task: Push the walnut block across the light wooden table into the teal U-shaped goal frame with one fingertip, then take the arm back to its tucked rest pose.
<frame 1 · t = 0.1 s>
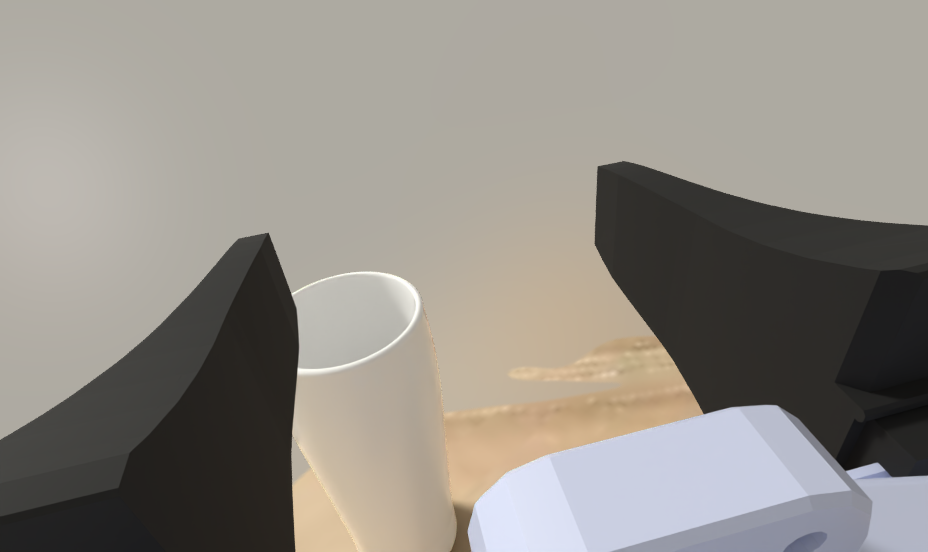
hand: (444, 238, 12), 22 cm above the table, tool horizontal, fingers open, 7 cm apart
white cup: (410, 540, 30), on the table
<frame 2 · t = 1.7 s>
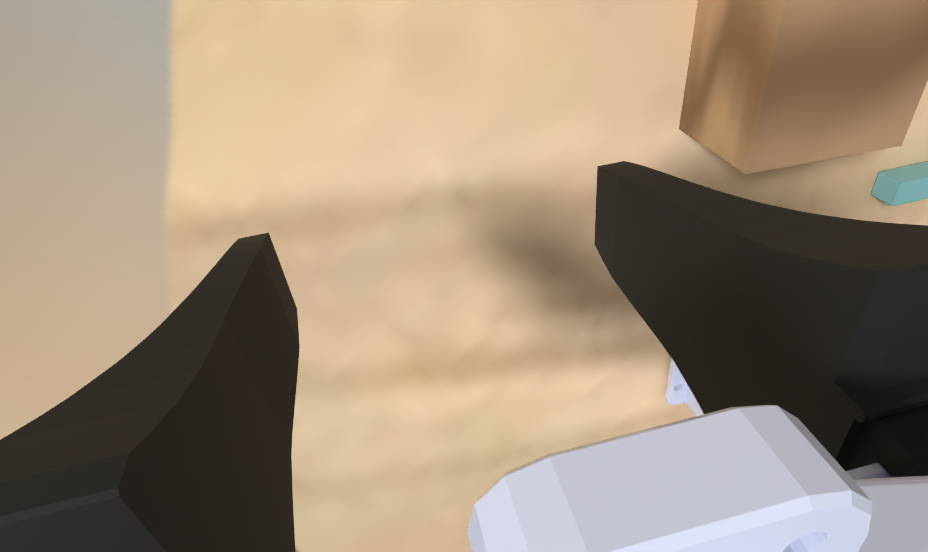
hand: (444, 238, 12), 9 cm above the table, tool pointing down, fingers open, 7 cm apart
walnut block: (762, 38, 21), on the table
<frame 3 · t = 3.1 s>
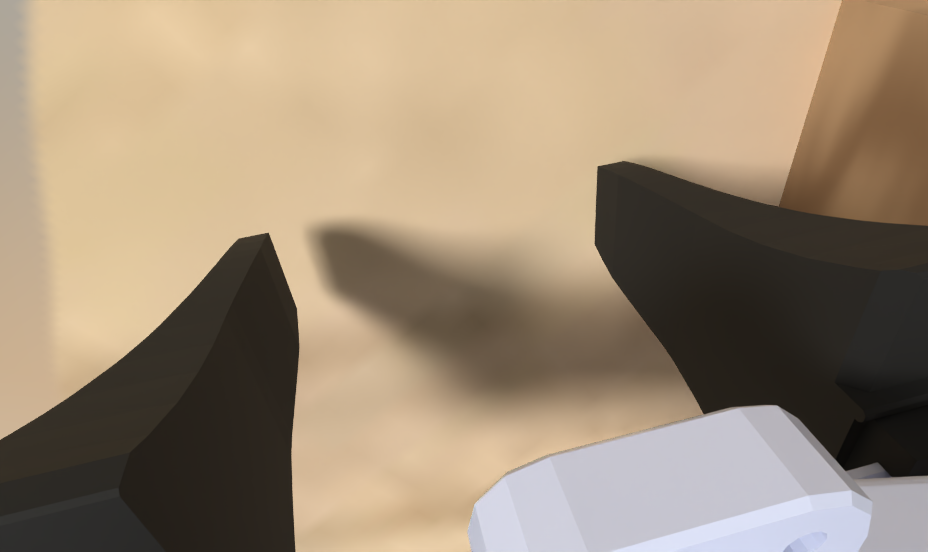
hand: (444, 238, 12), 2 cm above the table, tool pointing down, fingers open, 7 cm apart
walnut block: (899, 106, 15), on the table
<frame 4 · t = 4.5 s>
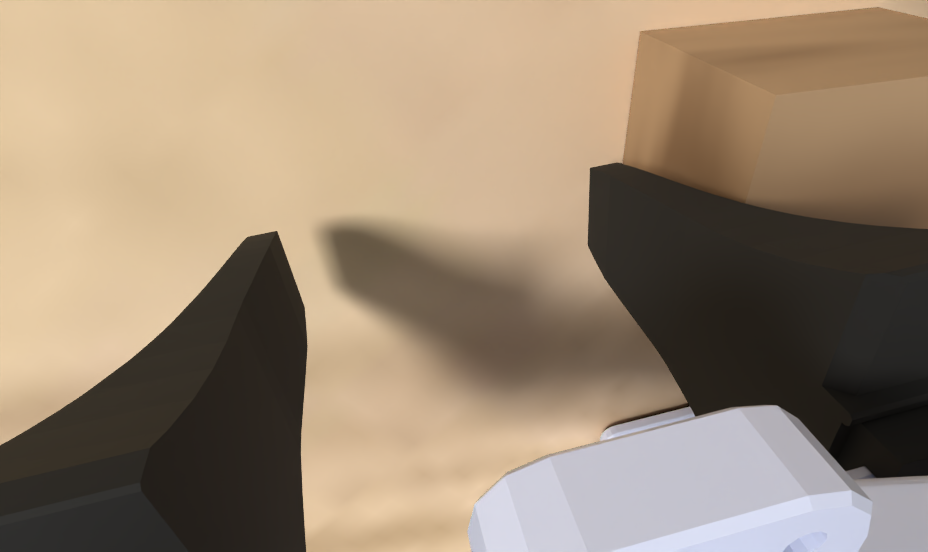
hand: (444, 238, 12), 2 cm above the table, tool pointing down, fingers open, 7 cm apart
walnut block: (732, 144, 14), on the table, touching gripper
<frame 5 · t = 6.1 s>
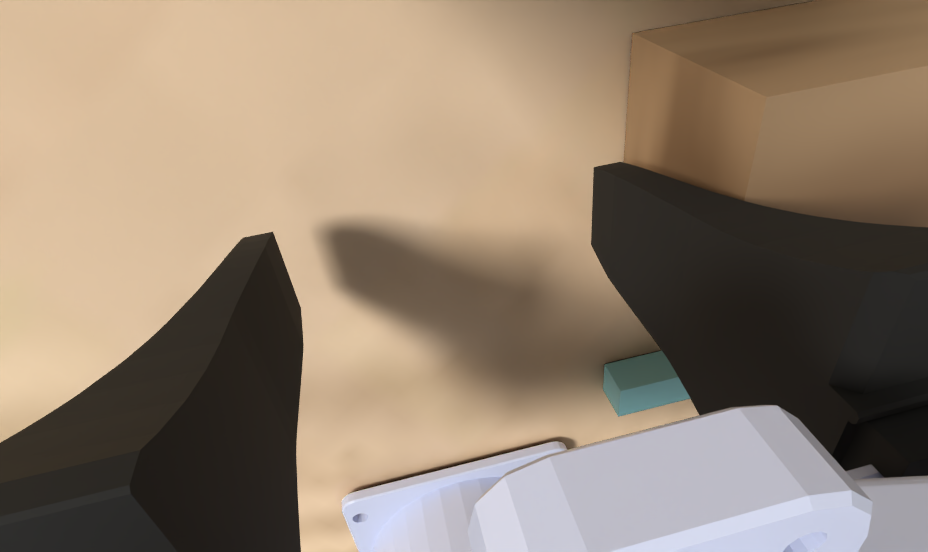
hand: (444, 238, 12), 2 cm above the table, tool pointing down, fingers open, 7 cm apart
walnut block: (734, 137, 14), on the table, touching gripper
goal frame: (886, 114, 15), on the table
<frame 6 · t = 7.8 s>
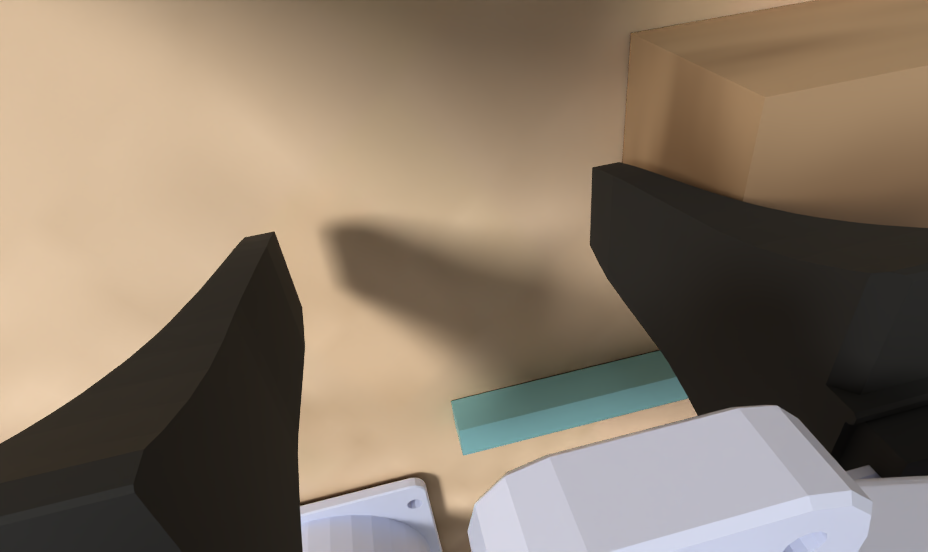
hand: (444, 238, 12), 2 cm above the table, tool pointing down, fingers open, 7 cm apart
walnut block: (732, 137, 14), on the table, touching gripper
goal frame: (707, 148, 14), on the table
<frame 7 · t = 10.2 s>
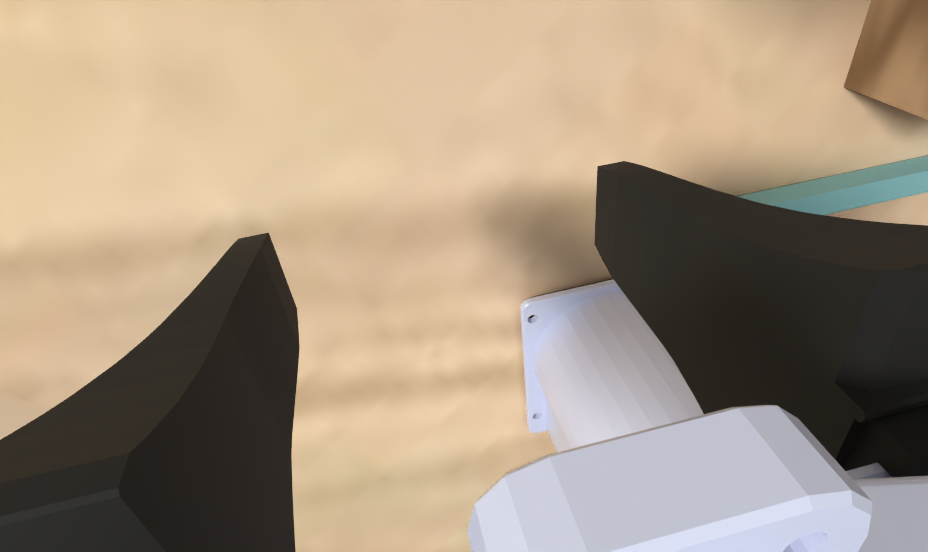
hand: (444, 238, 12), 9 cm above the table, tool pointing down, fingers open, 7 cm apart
goal frame: (920, 7, 22), on the table
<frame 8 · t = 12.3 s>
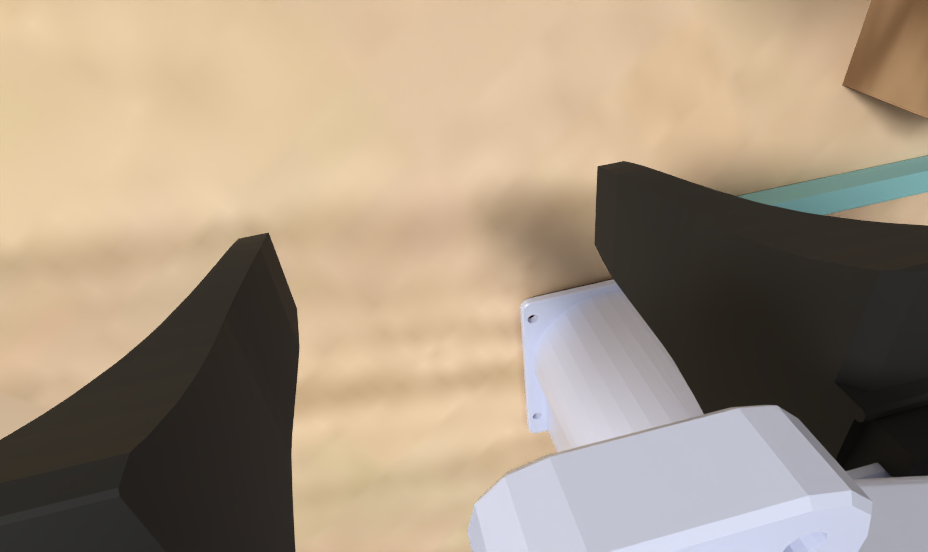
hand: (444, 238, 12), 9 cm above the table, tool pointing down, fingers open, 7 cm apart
goal frame: (920, 7, 22), on the table
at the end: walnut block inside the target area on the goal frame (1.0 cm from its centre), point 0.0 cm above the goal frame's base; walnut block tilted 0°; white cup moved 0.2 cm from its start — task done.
